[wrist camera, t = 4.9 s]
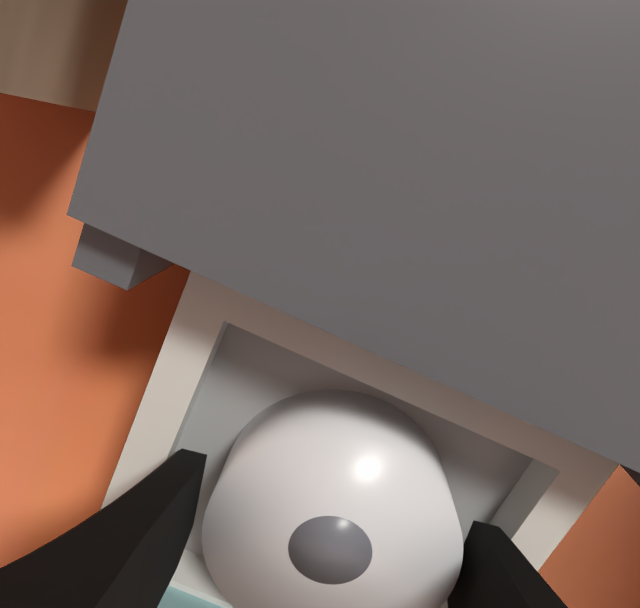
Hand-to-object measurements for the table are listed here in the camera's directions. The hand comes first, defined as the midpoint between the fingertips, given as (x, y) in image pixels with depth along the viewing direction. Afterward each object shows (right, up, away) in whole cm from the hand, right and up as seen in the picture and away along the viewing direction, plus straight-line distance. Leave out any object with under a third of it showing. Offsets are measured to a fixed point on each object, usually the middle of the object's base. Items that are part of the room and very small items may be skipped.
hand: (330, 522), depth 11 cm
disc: (0, 0, +1) cm, 1 cm away
